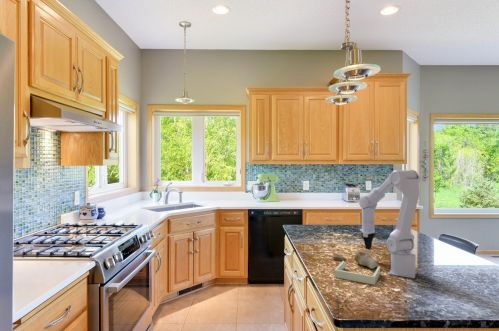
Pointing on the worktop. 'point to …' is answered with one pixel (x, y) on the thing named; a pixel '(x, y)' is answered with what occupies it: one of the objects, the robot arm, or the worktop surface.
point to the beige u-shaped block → (356, 275)
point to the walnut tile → (338, 257)
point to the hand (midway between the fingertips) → (368, 248)
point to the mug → (365, 259)
